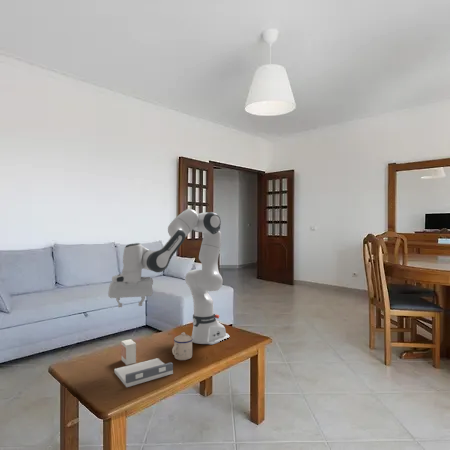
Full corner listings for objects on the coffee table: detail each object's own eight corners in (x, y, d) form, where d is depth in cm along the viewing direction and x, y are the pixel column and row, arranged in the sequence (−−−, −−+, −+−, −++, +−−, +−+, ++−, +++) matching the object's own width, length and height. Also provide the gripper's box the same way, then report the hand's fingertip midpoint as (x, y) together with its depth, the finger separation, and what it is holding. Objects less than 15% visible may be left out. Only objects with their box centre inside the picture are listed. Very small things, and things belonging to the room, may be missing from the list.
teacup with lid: (182, 351, 160) (182, 328, 160) (196, 355, 155) (196, 331, 155) (165, 359, 150) (165, 335, 150) (180, 364, 145) (180, 339, 145)
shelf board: (157, 361, 149) (157, 351, 149) (173, 374, 135) (173, 363, 135) (114, 372, 137) (114, 362, 137) (126, 387, 124) (127, 376, 124)
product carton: (135, 362, 147) (136, 343, 147) (125, 365, 144) (125, 345, 144) (130, 357, 153) (130, 339, 153) (120, 360, 150) (120, 341, 150)
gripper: (151, 276, 159) (150, 303, 158) (108, 277, 149) (107, 306, 148) (154, 277, 153) (153, 306, 152) (110, 278, 143) (109, 309, 143)
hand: (130, 306), depth 150 cm, fingers open, 8 cm apart
